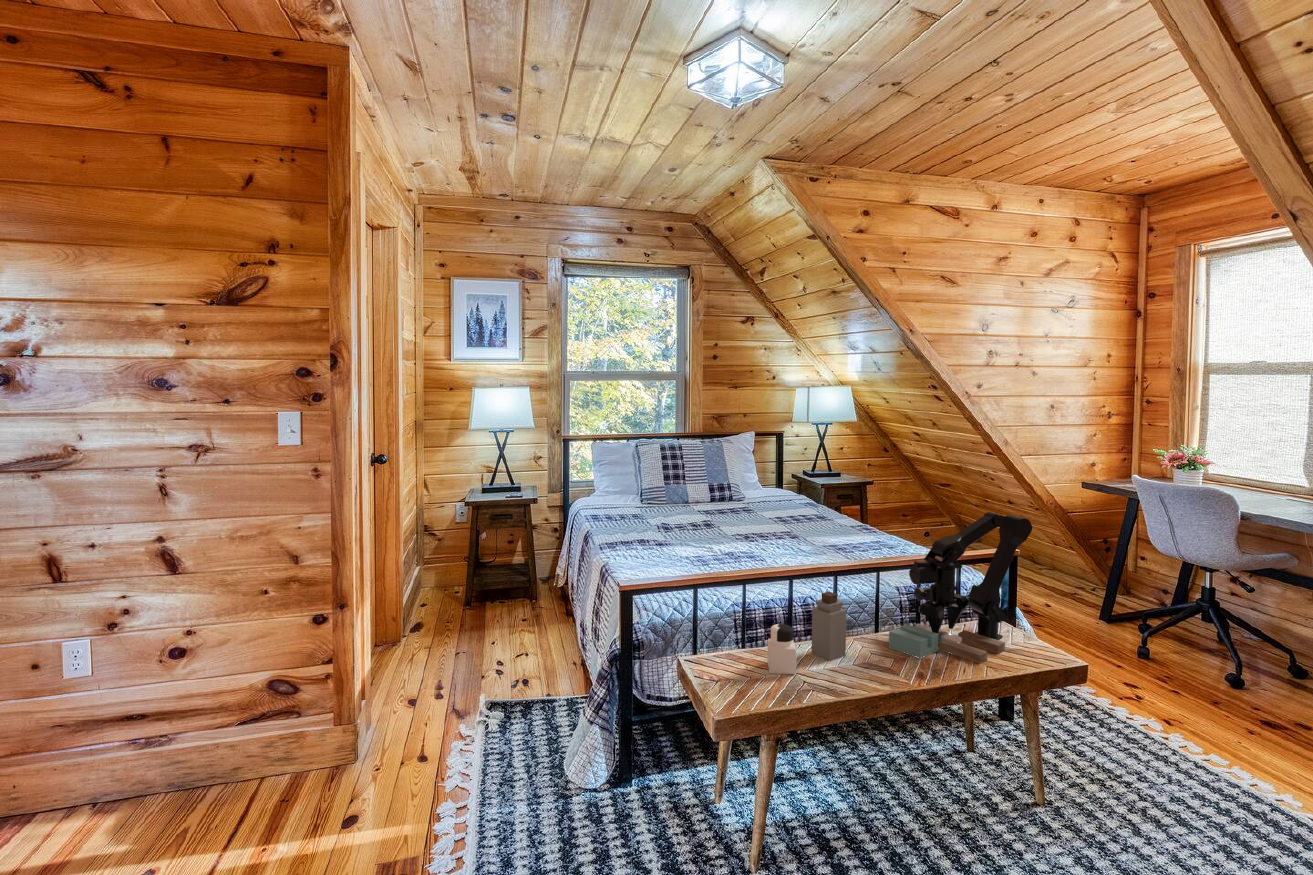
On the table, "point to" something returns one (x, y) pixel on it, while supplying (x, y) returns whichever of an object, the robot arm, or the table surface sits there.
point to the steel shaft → (943, 634)
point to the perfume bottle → (829, 628)
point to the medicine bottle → (781, 650)
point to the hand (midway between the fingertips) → (943, 632)
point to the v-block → (913, 640)
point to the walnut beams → (970, 651)
